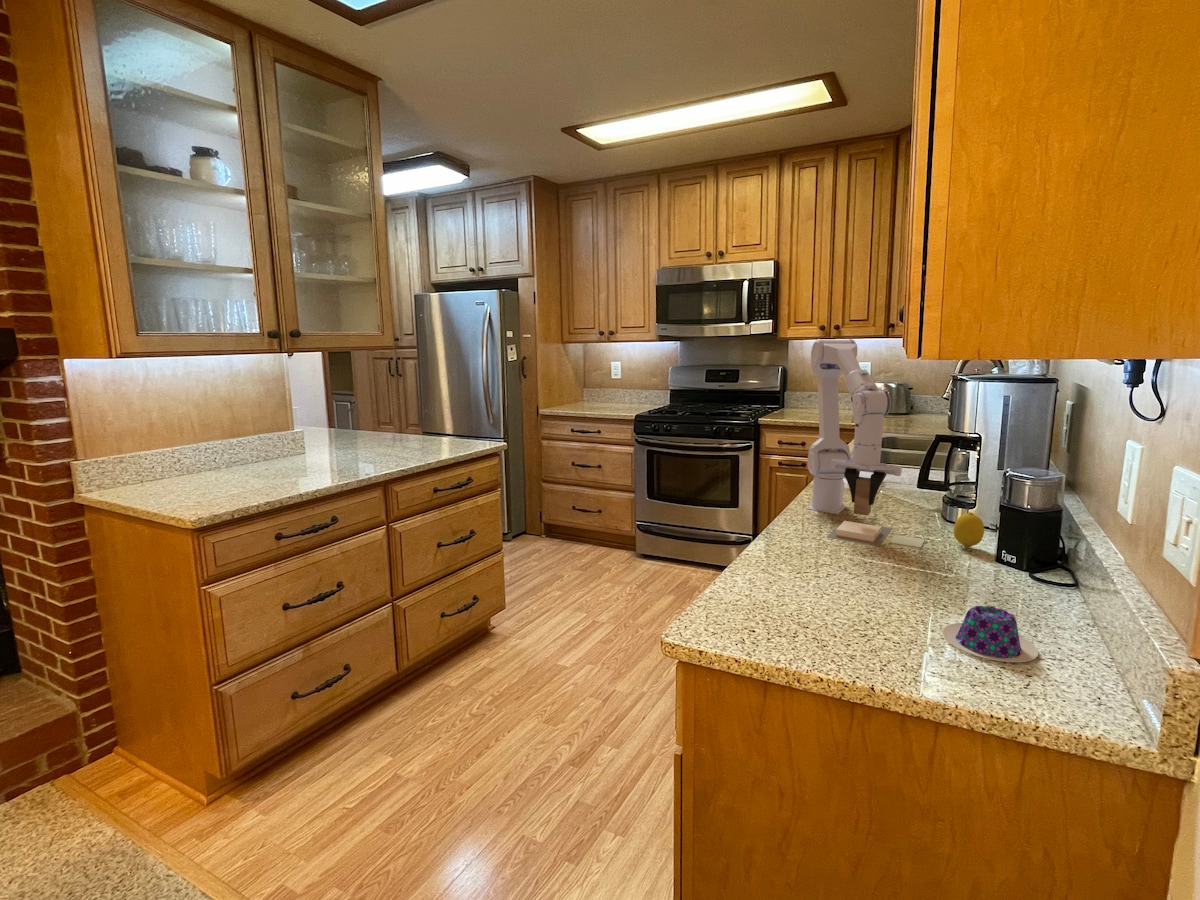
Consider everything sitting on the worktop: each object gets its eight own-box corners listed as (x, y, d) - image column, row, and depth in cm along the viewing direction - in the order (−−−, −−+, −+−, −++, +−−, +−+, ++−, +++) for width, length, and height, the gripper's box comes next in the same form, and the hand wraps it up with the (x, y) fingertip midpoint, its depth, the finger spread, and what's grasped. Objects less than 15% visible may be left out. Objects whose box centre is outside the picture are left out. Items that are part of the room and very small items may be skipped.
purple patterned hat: (925, 628, 96) (928, 596, 95) (997, 626, 97) (1001, 594, 96) (977, 668, 84) (981, 633, 84) (1059, 665, 85) (1064, 630, 84)
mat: (843, 521, 151) (843, 520, 151) (892, 529, 145) (892, 528, 145) (826, 538, 138) (826, 537, 138) (878, 548, 132) (879, 546, 132)
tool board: (894, 537, 139) (894, 534, 139) (924, 542, 136) (924, 539, 136) (889, 544, 134) (890, 542, 134) (920, 549, 131) (920, 547, 131)
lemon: (973, 544, 135) (977, 509, 133) (986, 553, 129) (991, 516, 128) (947, 543, 135) (951, 508, 134) (959, 552, 130) (963, 515, 128)
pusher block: (856, 510, 143) (859, 476, 141) (870, 512, 141) (873, 478, 140) (853, 513, 140) (856, 479, 139) (867, 515, 139) (870, 480, 137)
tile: (844, 520, 145) (836, 529, 139) (881, 526, 141) (874, 535, 134) (844, 527, 145) (835, 536, 139) (880, 533, 141) (873, 542, 134)
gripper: (829, 443, 139) (825, 501, 141) (900, 449, 131) (894, 511, 133) (837, 439, 144) (833, 495, 147) (905, 445, 136) (899, 504, 139)
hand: (862, 502), depth 140 cm, fingers closed on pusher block, 3 cm apart
